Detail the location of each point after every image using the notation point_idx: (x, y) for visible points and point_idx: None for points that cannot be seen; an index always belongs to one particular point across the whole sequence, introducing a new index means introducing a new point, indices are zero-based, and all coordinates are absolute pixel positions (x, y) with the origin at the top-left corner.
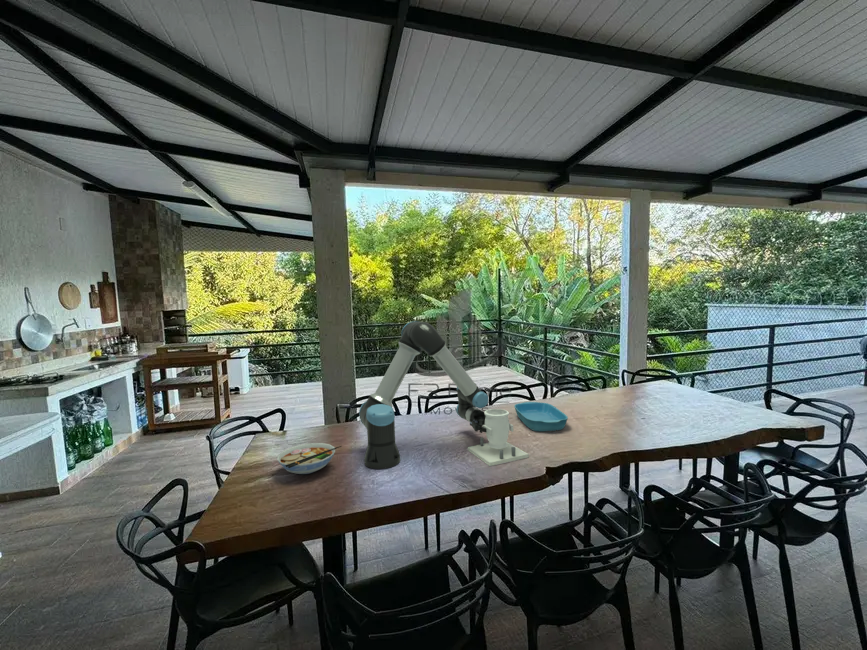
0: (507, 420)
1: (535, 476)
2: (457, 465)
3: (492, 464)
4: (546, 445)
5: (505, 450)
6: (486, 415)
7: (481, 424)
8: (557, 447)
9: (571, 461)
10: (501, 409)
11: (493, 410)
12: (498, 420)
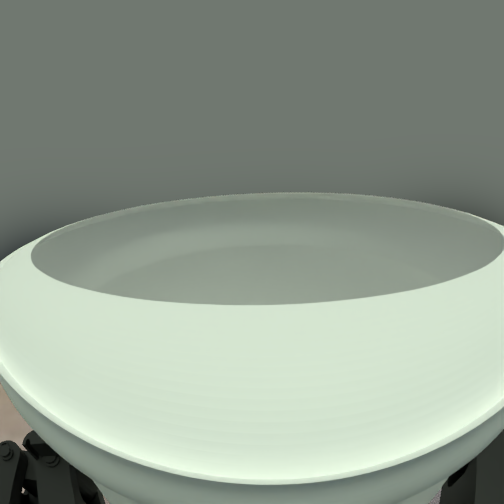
0: (188, 280)
1: None
2: None
3: None
4: (6, 438)
5: None
6: (454, 231)
7: (484, 459)
8: (9, 407)
9: None
10: (34, 243)
11: (98, 427)
12: (309, 253)
